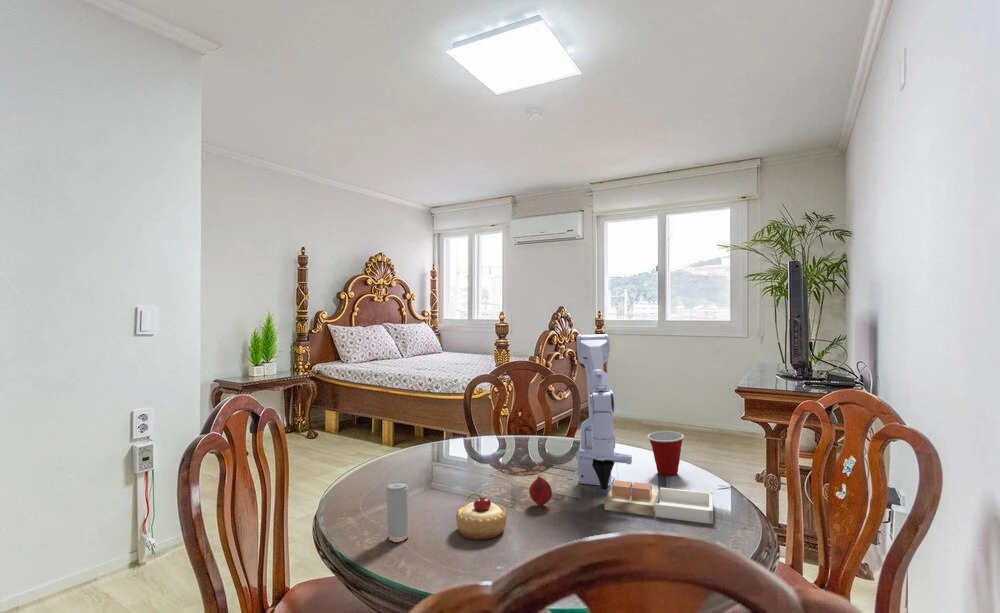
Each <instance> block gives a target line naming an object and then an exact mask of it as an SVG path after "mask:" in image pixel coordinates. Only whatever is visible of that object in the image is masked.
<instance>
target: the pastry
mask: <svg viewBox="0 0 1000 613" xmlns="http://www.w3.org/2000/svg"><path fill="white" fill-rule="evenodd" d="M473 496H478V497H479V498H477V499H476V500H474V501H473V502H469V503H468V504H466V503H465V504H463V506H459V508H458V510H457V512H456V513H455V514H456V515H455V519H456V527H457V529H458V531H459V533H460V534H461V536H462V537H464V536H465V537H464V538H466V537H467V539H468V538H470V539H469V540H473V539H474V540H473V541H483V540H490V539H493V538H497V537H498V536H500V535H501V534H502V532H503V531H504V529H505V528H506V524H507V517H508V516H507V510H506V509H505V507H504V506H503V505H502V504H498V503H496V502H495V503H494V502H492V501H491V499H490V498H489V497H481V495H480V494H477V493H473V494H471V495H469V496H468V497H467V498H466V500H465V501H468V500H469V499H470V498H471V497H473Z"/></svg>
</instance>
